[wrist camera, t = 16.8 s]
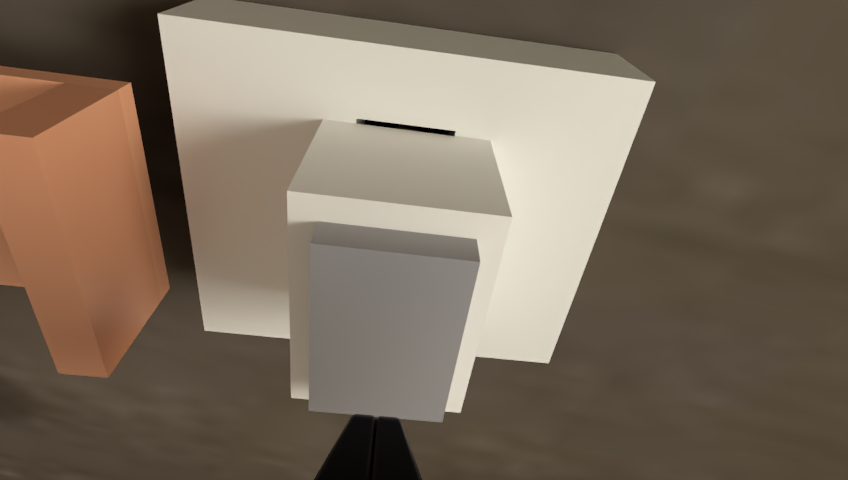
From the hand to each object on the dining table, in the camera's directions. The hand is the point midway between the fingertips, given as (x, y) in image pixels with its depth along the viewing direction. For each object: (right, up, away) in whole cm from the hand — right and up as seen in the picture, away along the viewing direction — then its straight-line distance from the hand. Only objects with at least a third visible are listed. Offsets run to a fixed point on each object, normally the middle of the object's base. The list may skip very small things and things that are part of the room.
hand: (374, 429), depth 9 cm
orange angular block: (-10, +5, +5) cm, 12 cm away
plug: (0, +5, +8) cm, 9 cm away
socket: (0, +5, +8) cm, 10 cm away
